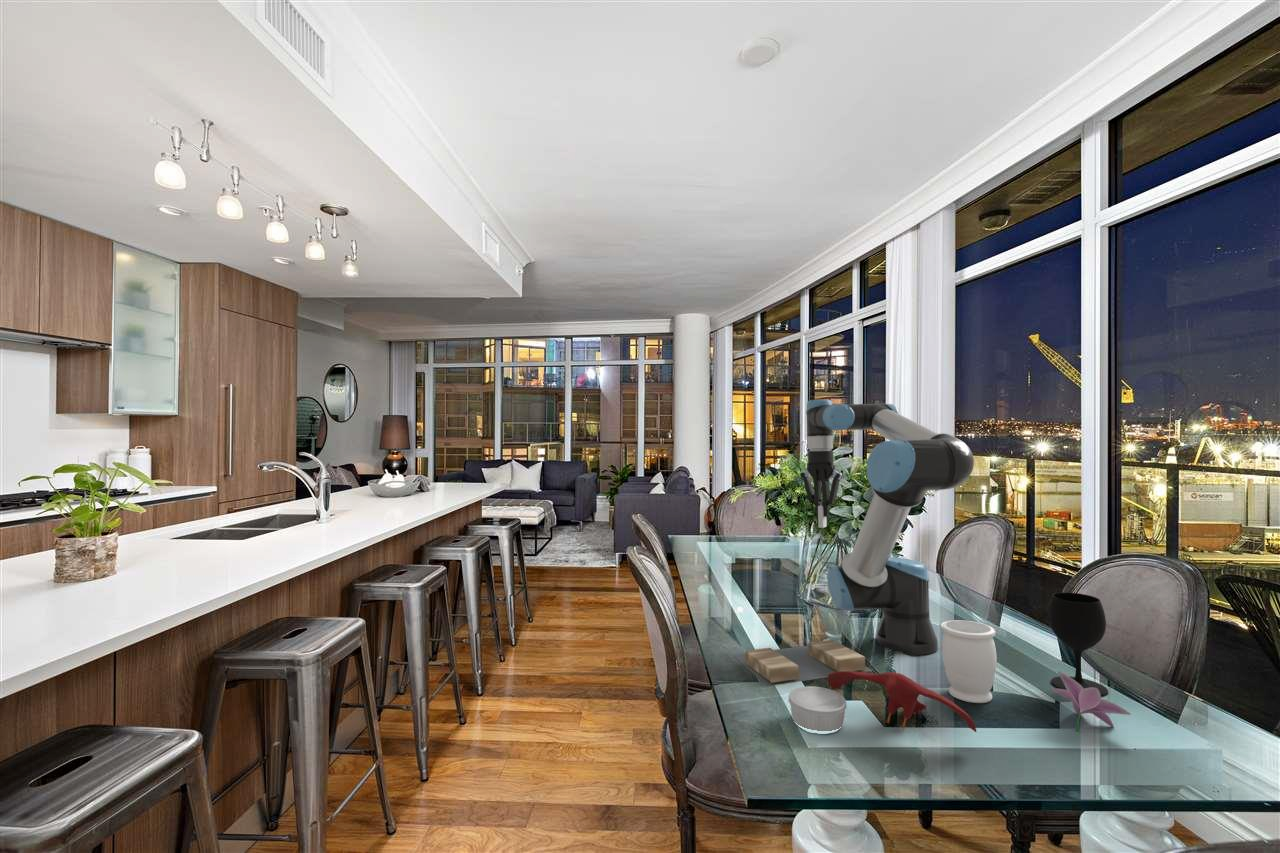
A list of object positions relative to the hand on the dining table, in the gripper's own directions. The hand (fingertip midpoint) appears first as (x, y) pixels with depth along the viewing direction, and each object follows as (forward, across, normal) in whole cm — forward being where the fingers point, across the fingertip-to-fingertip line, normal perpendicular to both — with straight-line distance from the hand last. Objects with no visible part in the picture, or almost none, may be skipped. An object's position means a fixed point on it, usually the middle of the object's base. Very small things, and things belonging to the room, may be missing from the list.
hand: (822, 527), depth 181 cm
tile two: (+27, +1, +40) cm, 49 cm away
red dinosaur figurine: (+30, -37, +51) cm, 70 cm away
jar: (+30, -45, +29) cm, 61 cm away
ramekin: (+30, -24, +61) cm, 72 cm away
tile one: (+27, -9, +26) cm, 39 cm away
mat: (+29, -8, +35) cm, 46 cm away
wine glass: (+30, -63, +10) cm, 70 cm away
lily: (+30, -66, +30) cm, 78 cm away
